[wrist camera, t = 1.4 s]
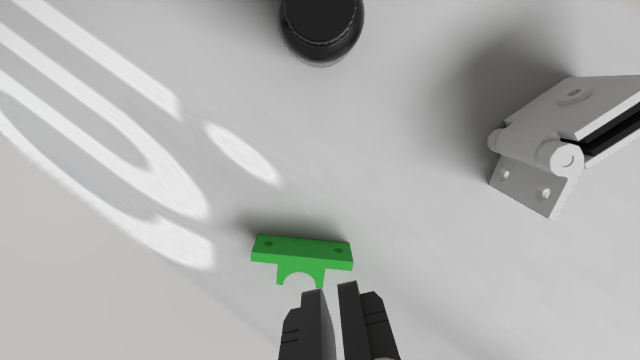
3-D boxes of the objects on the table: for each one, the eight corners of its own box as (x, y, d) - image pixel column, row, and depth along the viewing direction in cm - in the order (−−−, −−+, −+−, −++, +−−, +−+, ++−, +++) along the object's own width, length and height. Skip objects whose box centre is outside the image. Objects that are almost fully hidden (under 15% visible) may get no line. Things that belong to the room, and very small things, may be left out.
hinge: (492, 188, 37) (553, 224, 27) (460, 159, 36) (512, 185, 26) (590, 94, 34) (698, 97, 24) (559, 60, 33) (658, 49, 23)
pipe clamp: (257, 260, 40) (249, 281, 35) (258, 233, 39) (250, 251, 34) (345, 269, 40) (348, 291, 36) (349, 242, 39) (353, 262, 35)
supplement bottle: (305, -19, 31) (298, -82, 19) (366, 17, 32) (394, -23, 20) (275, 48, 32) (251, 27, 21) (333, 80, 33) (342, 78, 22)
